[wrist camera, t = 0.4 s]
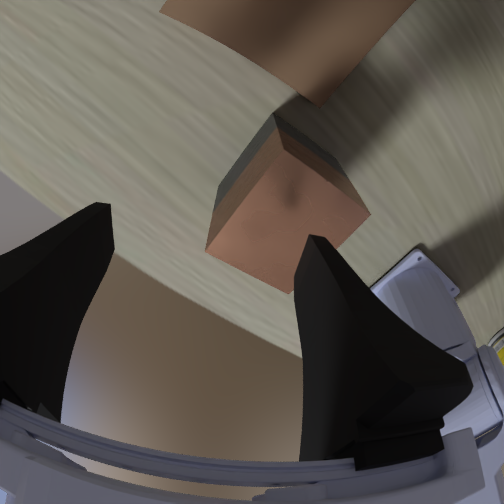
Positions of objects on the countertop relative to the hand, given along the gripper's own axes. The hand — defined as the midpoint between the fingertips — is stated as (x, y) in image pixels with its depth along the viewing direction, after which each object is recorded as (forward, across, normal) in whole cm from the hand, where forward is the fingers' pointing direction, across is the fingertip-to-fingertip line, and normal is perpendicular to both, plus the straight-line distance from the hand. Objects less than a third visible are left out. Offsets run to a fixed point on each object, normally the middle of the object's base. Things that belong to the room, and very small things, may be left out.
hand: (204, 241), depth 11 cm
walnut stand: (+9, -2, -11) cm, 14 cm away
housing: (+10, -3, +1) cm, 10 cm away
